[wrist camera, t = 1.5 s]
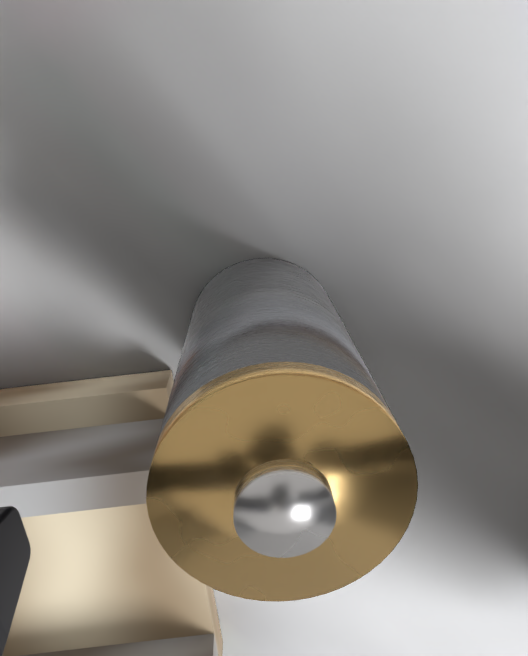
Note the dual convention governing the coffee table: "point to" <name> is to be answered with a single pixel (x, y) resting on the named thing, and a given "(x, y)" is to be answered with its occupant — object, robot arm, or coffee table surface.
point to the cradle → (96, 524)
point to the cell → (276, 444)
